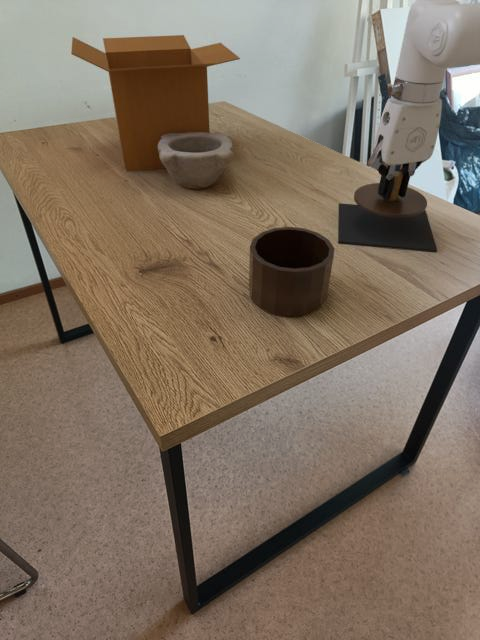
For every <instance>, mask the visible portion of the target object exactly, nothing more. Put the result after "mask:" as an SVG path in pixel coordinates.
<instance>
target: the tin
mask: <svg viewBox="0 0 480 640" xmlns="http://www.w3.org/2000/svg"><path fill="white" fill-rule="evenodd" d="M334 257H335V247H334V245H333V243H332V242H331V240H330V239H329V238H327V237H325V236H324V235H322V234H321V233H319V232H316V231H314V230H311V229H307V228H304V227H294V226H283V227H273V228H270V229H267V230H265V231H261V232H260V233H258V234H257V235H256V236H255V237H253V238H252V241H251V243H250V246H249V263H248V265H249V268H248V269H249V270H248V271H249V272H248V290H249V297H250V299H251V301H252V302H253V304H254V305H255V306H257V307H258V308H259V309H260V310H262V311H264V312H266V313H268V314H271V315H274V316H278V317H284V318H285V317H286V318H299V317H305V316H308V315H310V314H313V313H315V312H317V311H318V310H320V309H321V308H322V307H323V306H324V305H325V304H326V301H327V299H328V293H329V286H330V281H331V275H332V269H333V263H334Z"/></svg>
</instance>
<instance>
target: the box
mask: <svg viewBox="0 0 480 640" xmlns="http://www.w3.org/2000/svg"><path fill="white" fill-rule="evenodd" d="M102 41H103V47H104V50H105V51H102V50H100V49H98V48H96V47H95V46H92V45H90V44H89V43H87V42H84V41H82V40H80V39H78V38H76V37H75V36H73V37H72V39H71V50H70V51H71V55H72V56H74V57H76V58H78V59H81V60H83V61H85V62H86V63H89V64H91V65H93V66H95V67H97V68H99V69H102V70H104V71H106V72H108V77H109V84H110V90H111V97H112V101H113V107H114V113H115V119H116V126H117V131H118V137H119V143H120V149H121V153H122V159H123V164H124V165H123V166H124V169H125V171H126V172H134V171H143V170H153V169H154V170H155V169H162V168H163V169H164V168H166V167H165V166H164V165H163V163H162V162H161V160H160V157H159V152H158V143H159V141H160V140H161V136H163V135H164V134H168V133H187V132H207V133H211V132H210V111H209V109H210V108H209V85H208V84H209V83H208V68H209V67H212V66H216V65H221V64H225V63H230V62H234V61H237V60H238V61H239V60H240V59H241V57H240V56H238V55H237V54H235V53H234V52H233V51H232V50H231V49H229V48H228V47H227V46H226V45H224V44H223V43H222V42H215V43H213V44H208V45H203V46H199V47H195V48H191V46H190V45H189V42H188V40H187V39H186V36H185V35H184V34H178V35H151V36H129V37H127V36H125V37H106V38H105V37H103V38H102Z"/></svg>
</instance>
